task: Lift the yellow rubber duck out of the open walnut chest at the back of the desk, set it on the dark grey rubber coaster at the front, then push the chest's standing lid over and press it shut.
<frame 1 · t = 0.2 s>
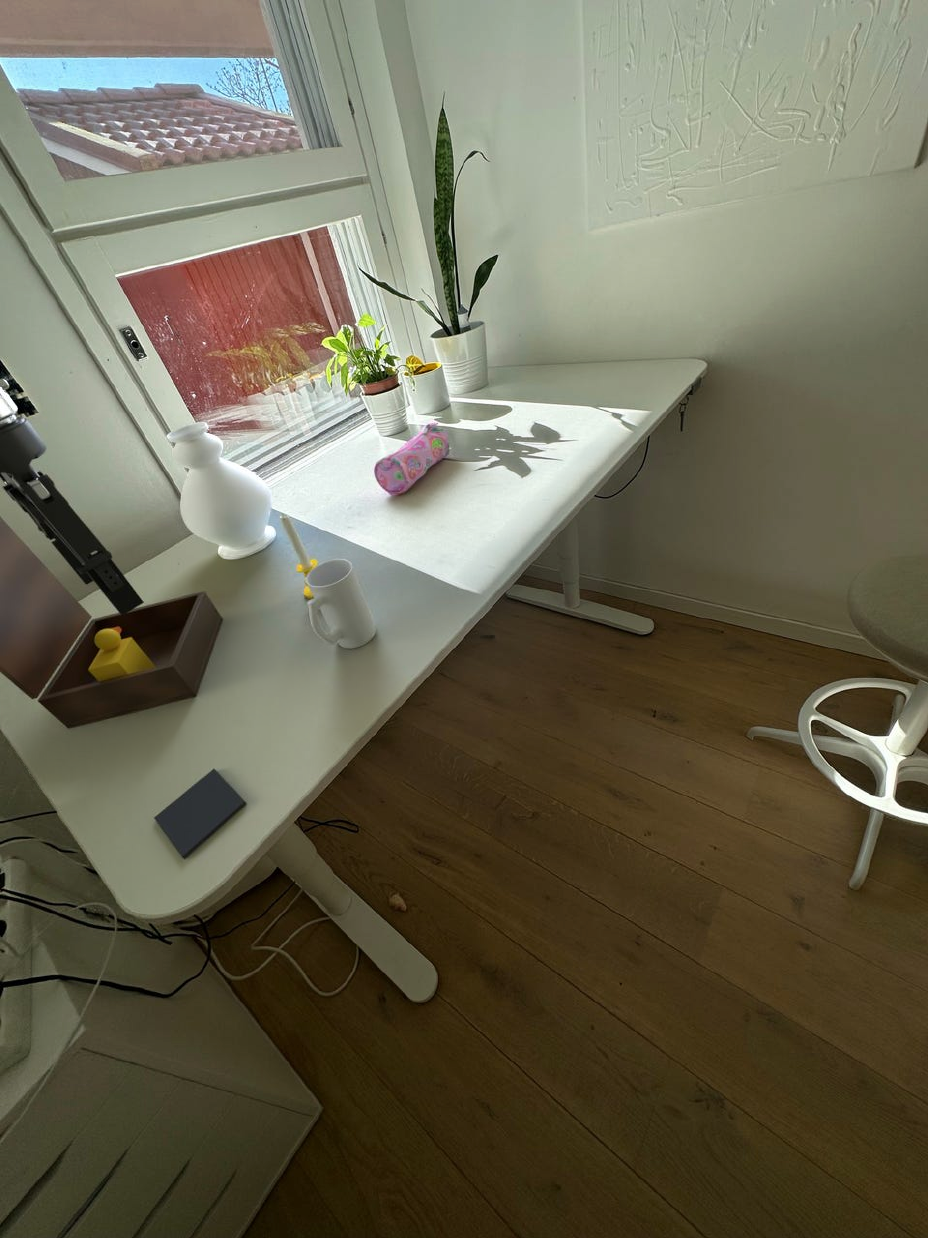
hand: (113, 592, 66), 19 cm above the table, tool pointing down, fingers open, 13 cm apart
mug: (351, 643, 79), on the table
decorative vase: (248, 543, 113), on the table
lid: (12, 603, 74), point 17 cm above the table, hinge at 92.0°
coaster: (201, 811, 61), on the table
duck: (139, 686, 80), point 1 cm above the table, touching chest
pencil case: (419, 476, 122), on the table
chest: (152, 669, 84), on the table
candle: (318, 590, 93), on the table
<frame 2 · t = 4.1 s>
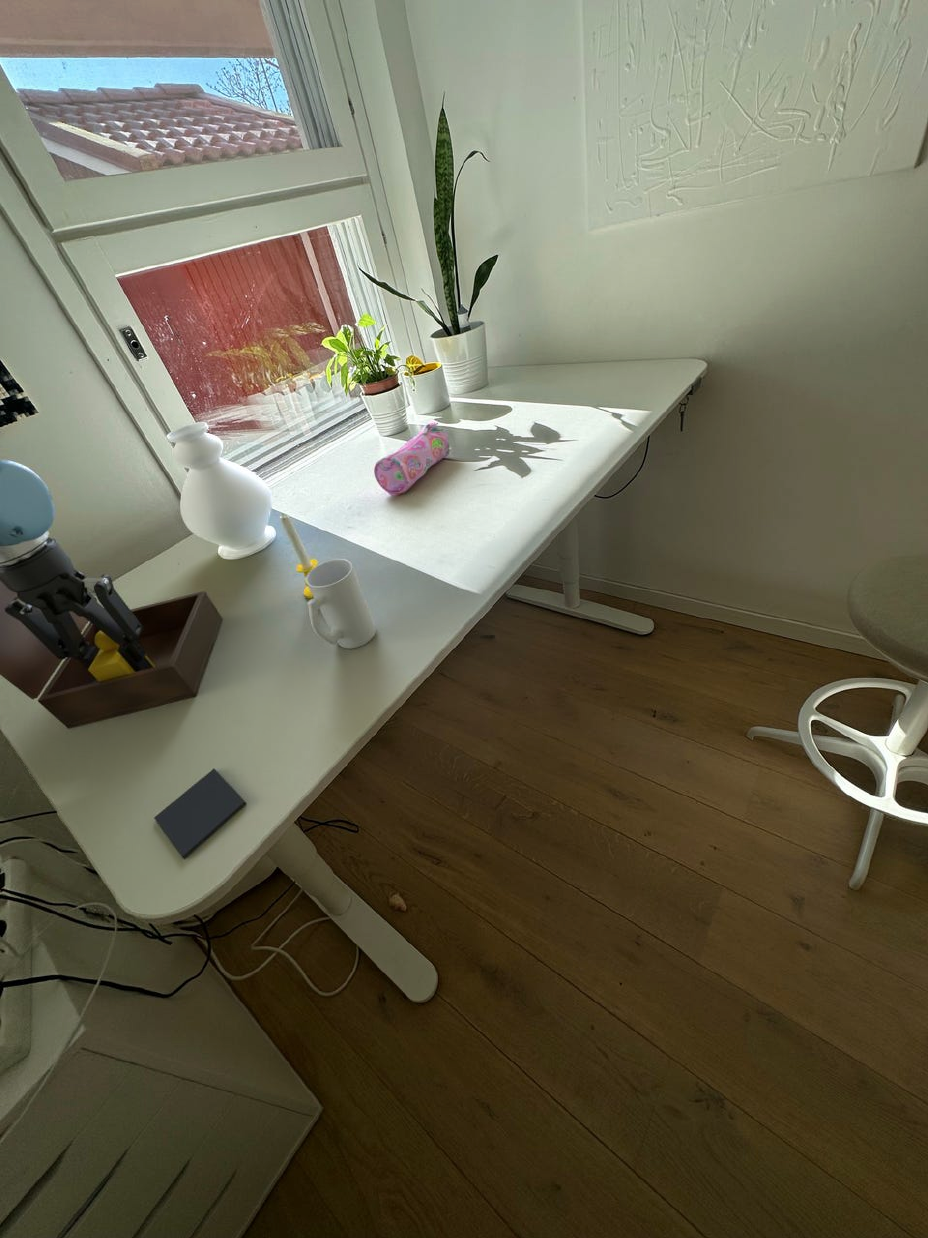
hand: (132, 678, 79), 3 cm above the table, tool pointing down, fingers closed on duck, 4 cm apart
lid: (8, 604, 74), point 17 cm above the table, hinge at 95.8°
duck: (139, 686, 80), point 1 cm above the table, touching chest, gripper
everything else where it was.
when the fingers open (2 cm above the table, at t = 11.8 s): duck stays where it is, resting on coaster.
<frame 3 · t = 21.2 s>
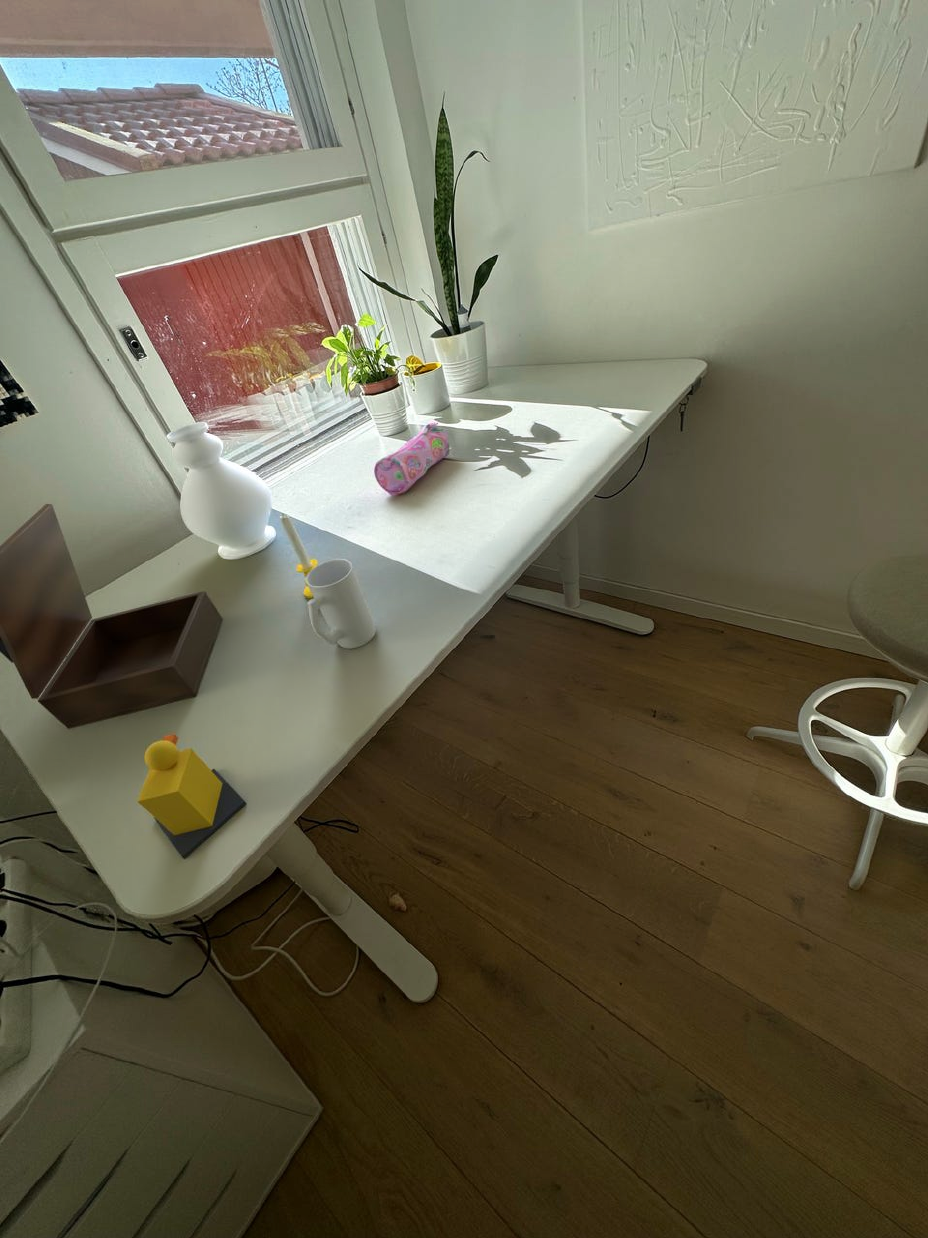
hand: (22, 654, 72), 12 cm above the table, tool pointing down, fingers closed
lid: (42, 599, 74), point 17 cm above the table, hinge at 70.1°, touching gripper, hand
duck: (199, 808, 61), resting on coaster
everything else where it was.
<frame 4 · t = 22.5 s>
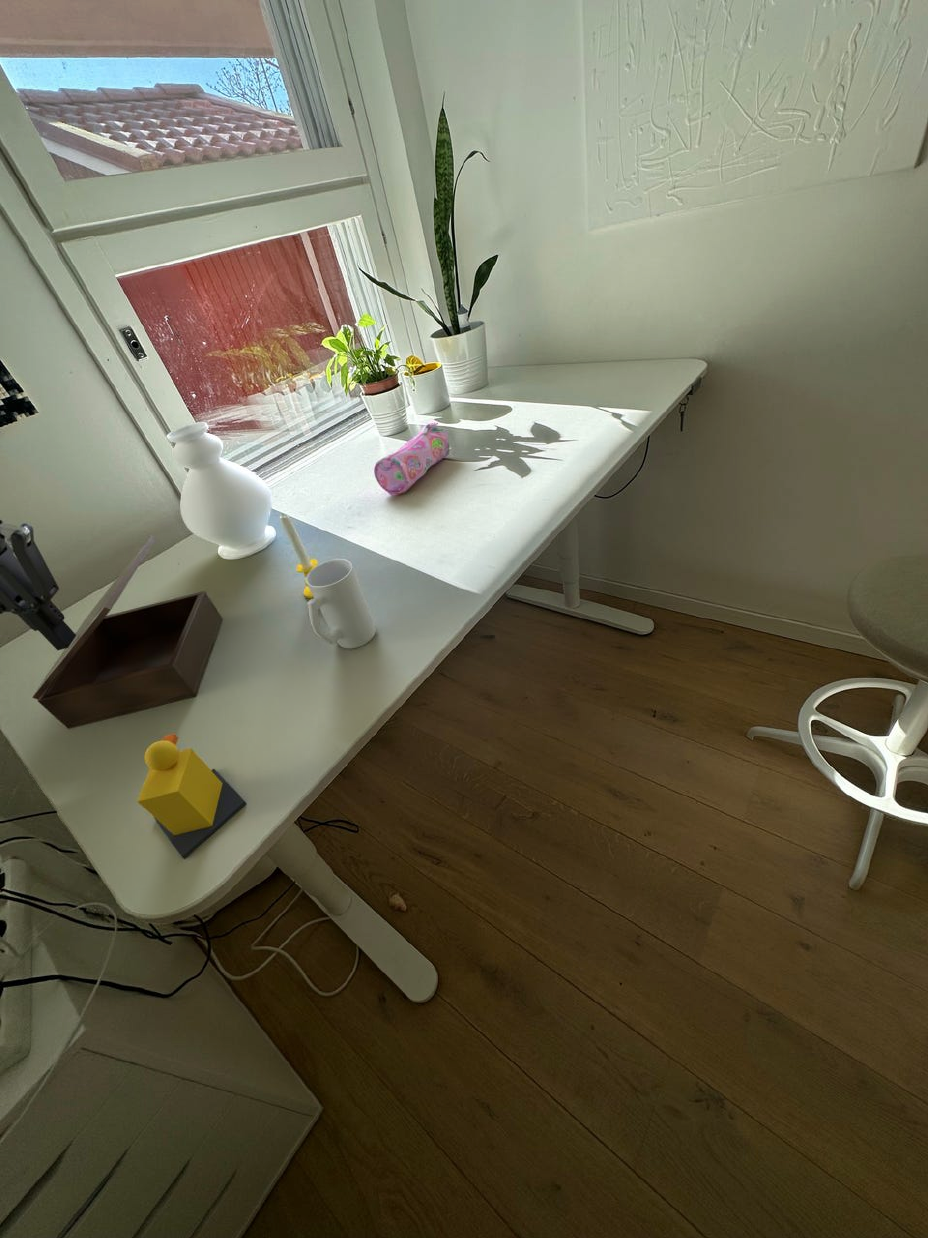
hand: (67, 642, 72), 12 cm above the table, tool pointing down, fingers closed
lid: (97, 613, 77), point 12 cm above the table, hinge at 31.5°, touching gripper
everything else where it was.
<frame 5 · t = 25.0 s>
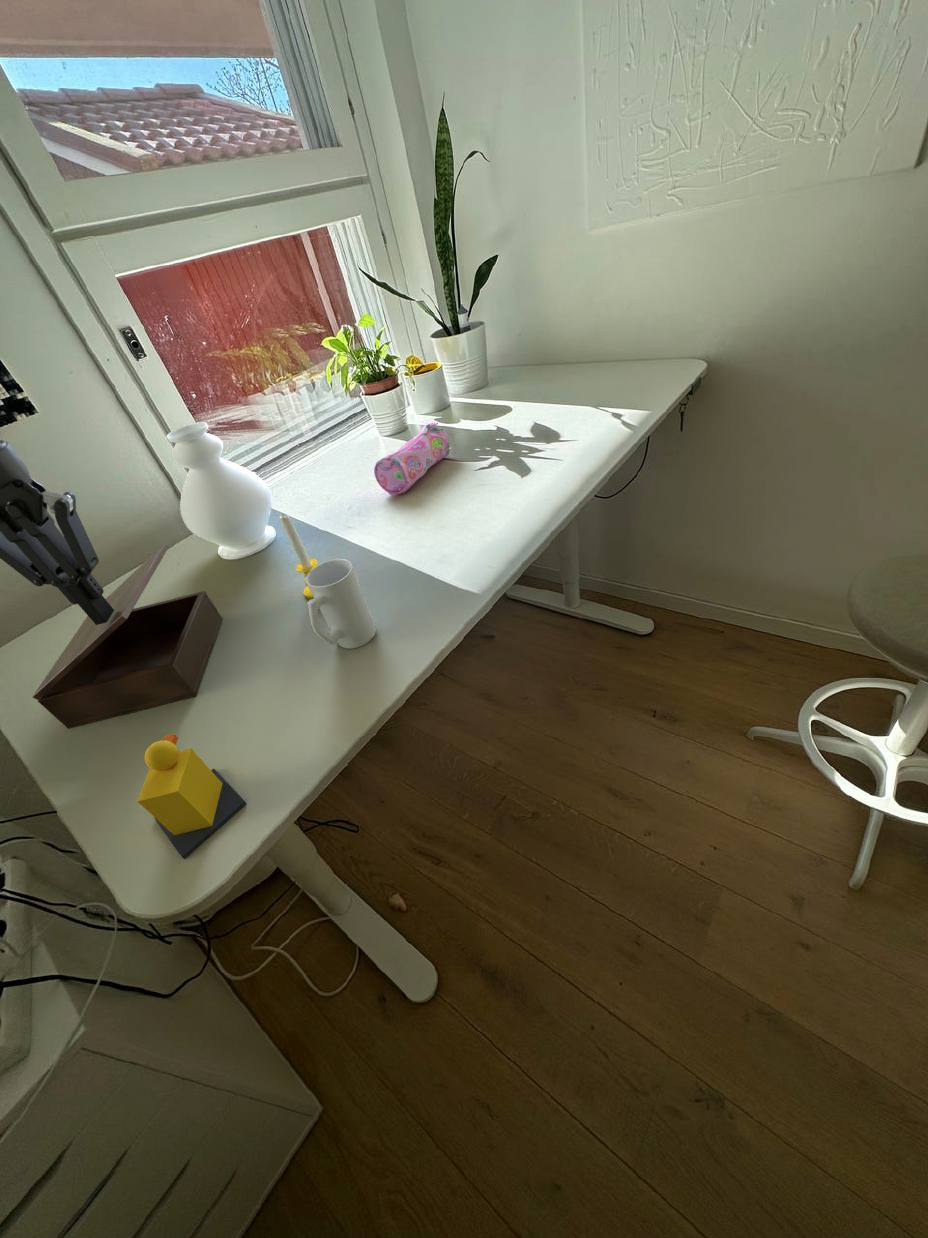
hand: (105, 617, 70), 15 cm above the table, tool pointing down, fingers closed
lid: (104, 617, 77), point 11 cm above the table, hinge at 25.7°, touching gripper
everything else where it was.
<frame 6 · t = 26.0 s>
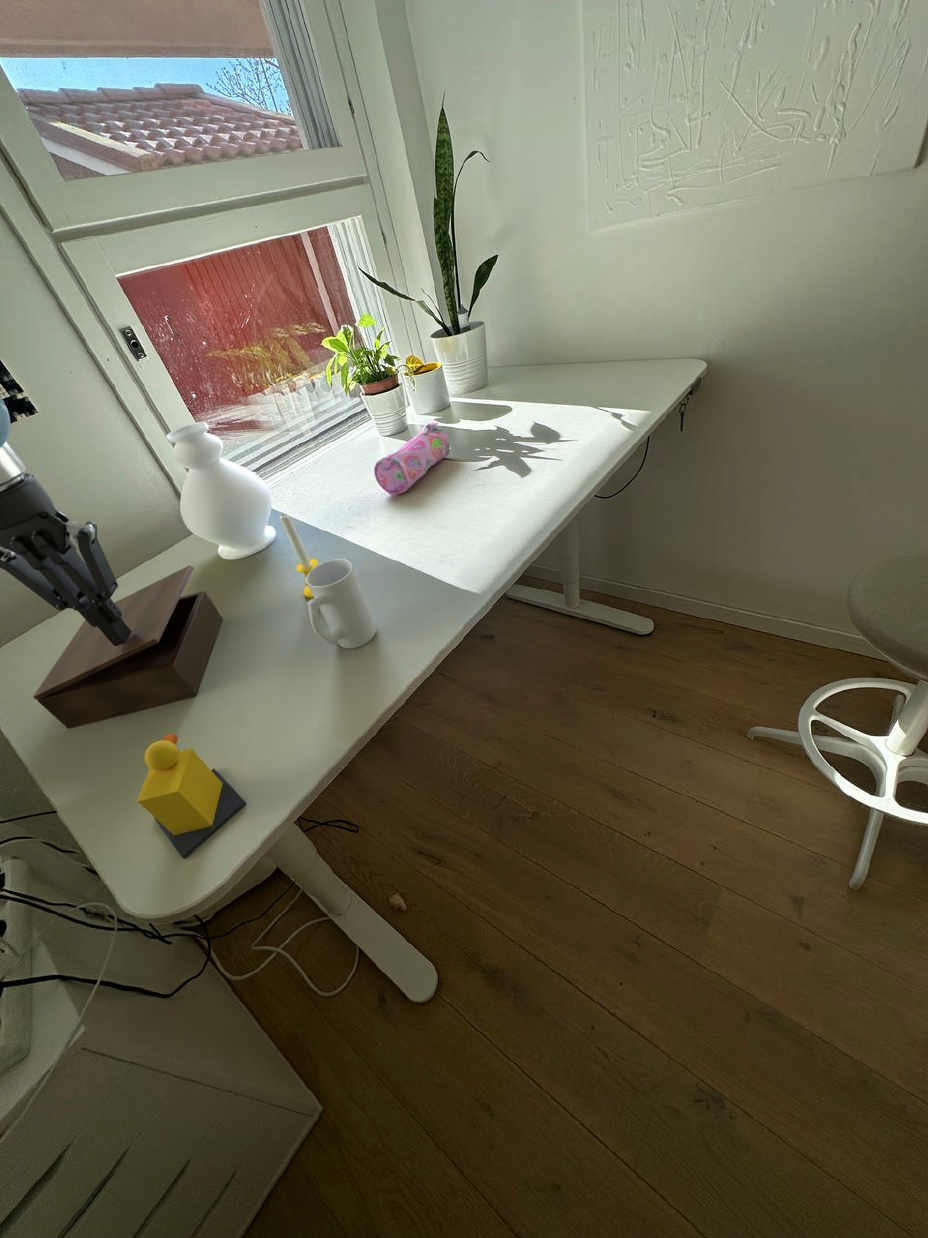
hand: (123, 638, 73), 11 cm above the table, tool pointing down, fingers closed
lid: (119, 627, 79), point 9 cm above the table, hinge at 12.1°, touching gripper
everything else where it was.
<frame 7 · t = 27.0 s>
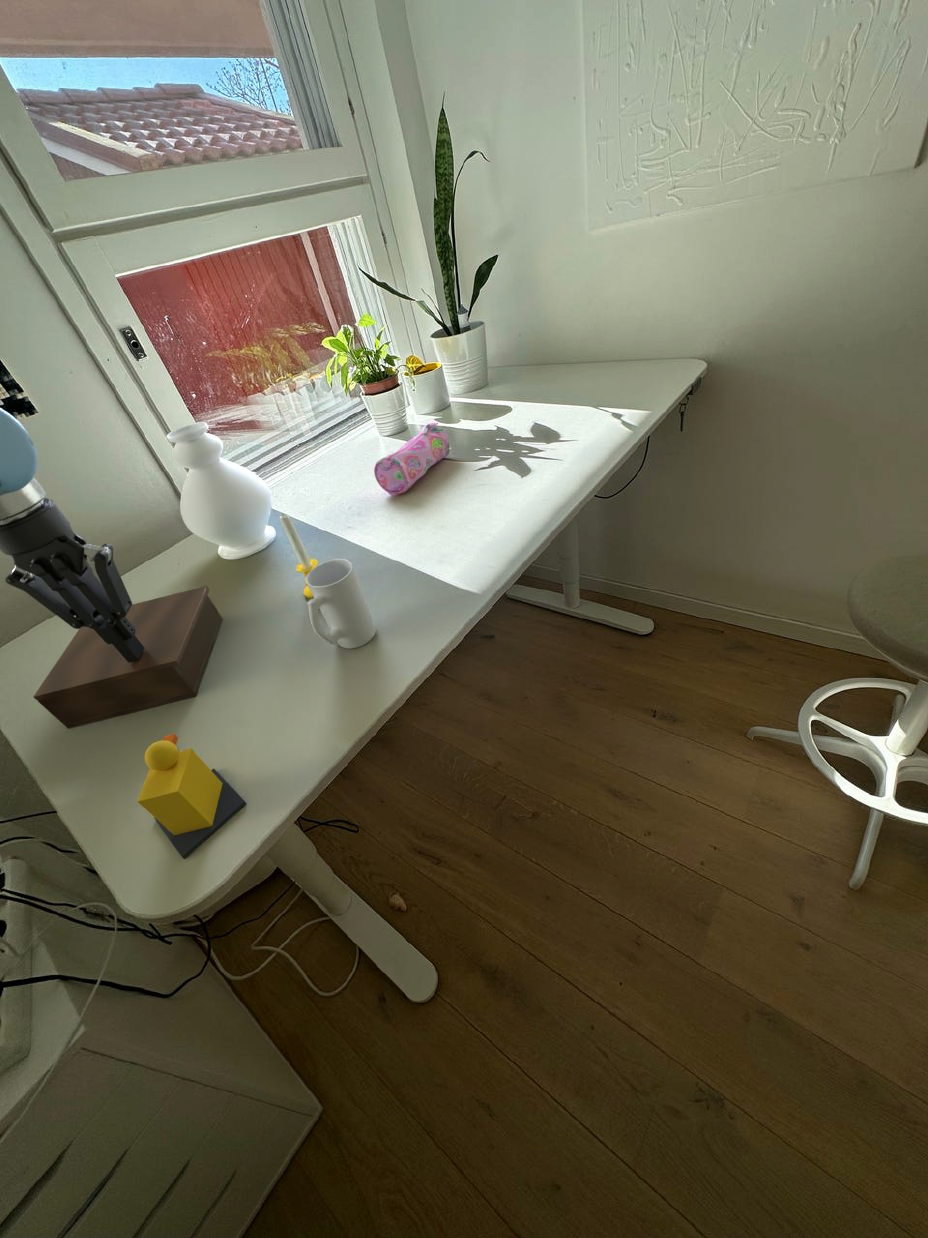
hand: (136, 655, 75), 7 cm above the table, tool pointing down, fingers closed
lid: (129, 637, 80), point 7 cm above the table, hinge at -0.2°, touching chest, gripper
everything else where it was.
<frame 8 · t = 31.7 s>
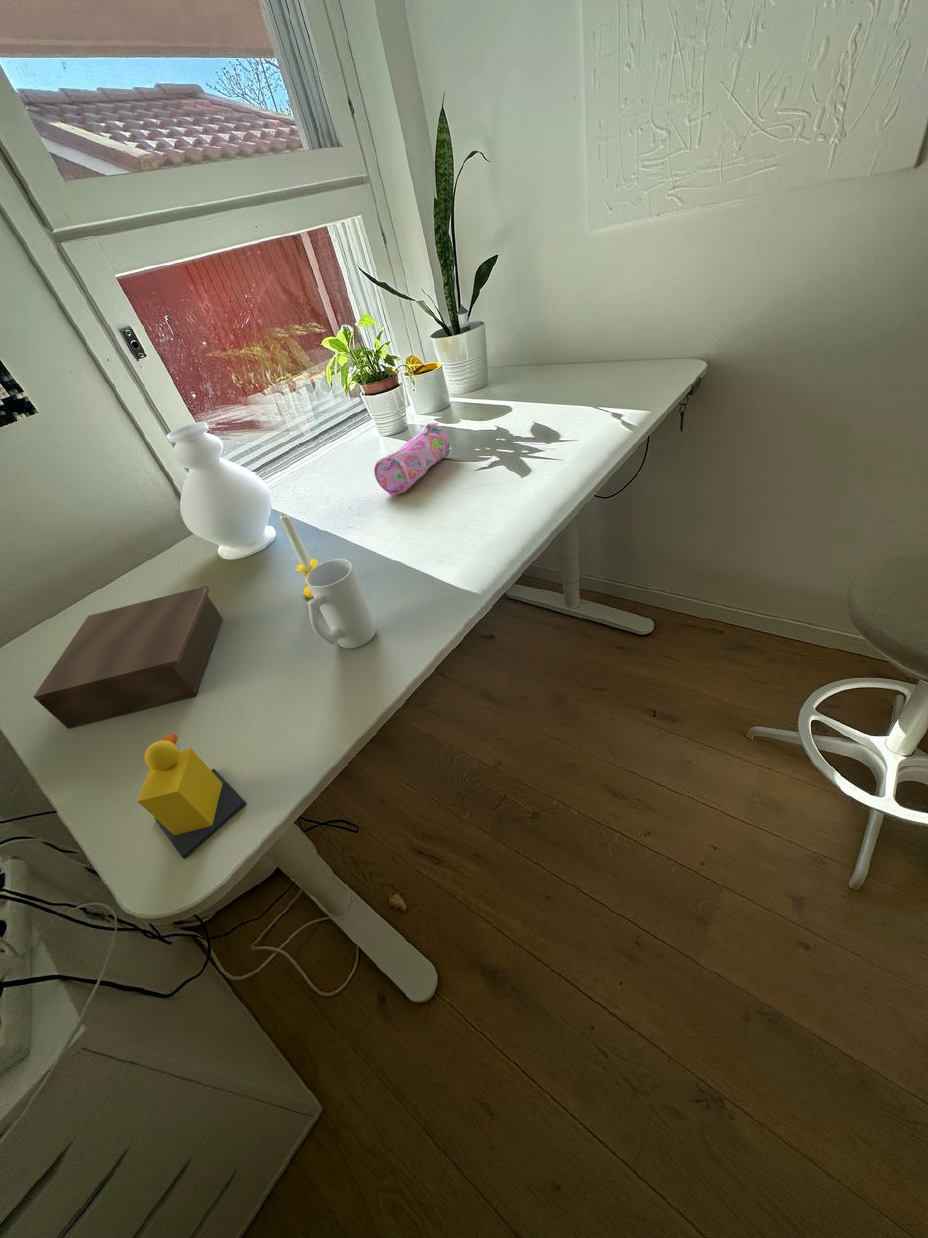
lid: (129, 637, 80), point 7 cm above the table, hinge at -0.2°, touching chest
everything else where it was.
at the end: duck inside the target area on the coaster (0.1 cm from its centre), point 0.5 cm above the coaster's base; duck tilted 0°; lid at +0° (first picture: +92°) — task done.
